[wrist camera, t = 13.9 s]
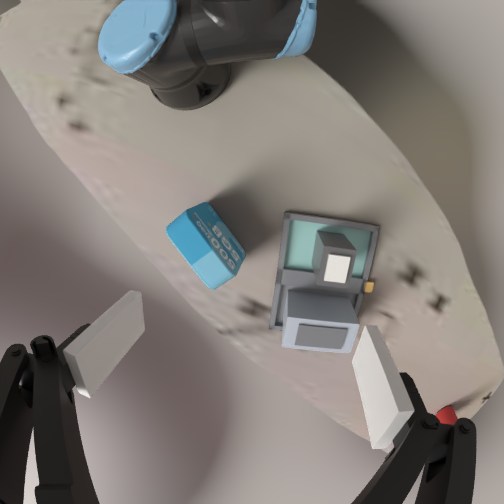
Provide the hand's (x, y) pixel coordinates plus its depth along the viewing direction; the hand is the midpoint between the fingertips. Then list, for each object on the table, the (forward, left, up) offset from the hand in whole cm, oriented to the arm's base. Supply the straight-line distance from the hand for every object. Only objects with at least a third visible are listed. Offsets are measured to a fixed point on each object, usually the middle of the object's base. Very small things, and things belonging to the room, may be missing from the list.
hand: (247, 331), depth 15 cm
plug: (+4, +10, -34) cm, 36 cm away
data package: (+4, -10, -35) cm, 37 cm away
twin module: (+16, +10, -34) cm, 39 cm away
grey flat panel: (+10, +10, -35) cm, 37 cm away
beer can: (+51, +62, -35) cm, 88 cm away
